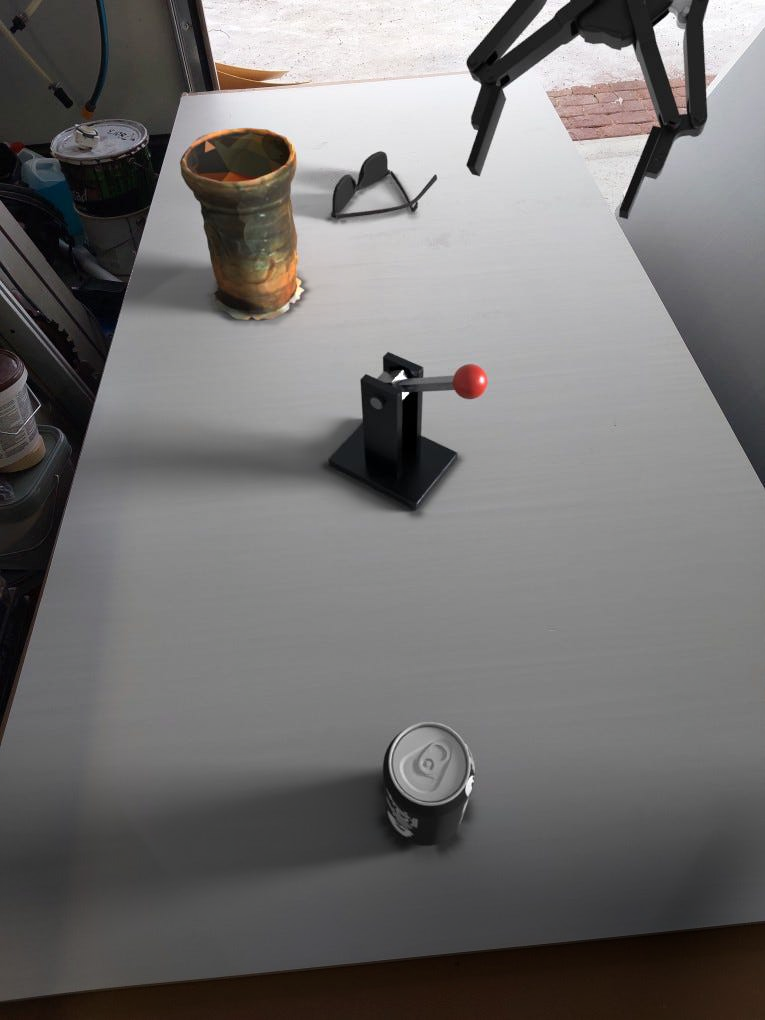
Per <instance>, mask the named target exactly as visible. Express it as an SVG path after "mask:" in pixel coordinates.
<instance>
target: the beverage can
mask: <svg viewBox="0 0 765 1020" xmlns="http://www.w3.org/2000/svg"><path fill="white" fill-rule="evenodd" d="M382 762H383V763H382V778H383V792H384V795H383V796H384V808H385V809H384V810H385V814H386V817H387V820H388V822H389V824H390V826H391V828H392V829H393V830H394V832H396V834H398V836H399V837H401V838H402V839H403V840H405V841H406V842H408V843H411V844H413V845H417V846H423V847H430V846H437V845H439V844H442V843H444V842H445V841H447V840H449V838H451V837H452V836H453V835H454V834H455V833H456V832H457V830H458V829H459V827H460V825H461V823H462V821H463V819H464V816H465V815H464V814H465V811H466V808H467V805H468V802H469V799H470V796H471V792H472V789H473V786H474V783H475V775H476V771H475V770H476V769H475V768H476V767H475V762H474V758H473V755H472V752H471V749H470V748H469V747H468V745H467V743H466V742H465V741H464V739H462V737H461V736H460V735H459V734H458V733H457V732H456V731H454V729H452V728H451V727H449V726H447V725H445V724H443V723H440V722H435V721H421V722H416V723H414V724H411V725H409V726H408V727H406V728H404V729H403V730H401V731H400V732H399V733H397V734H396V736H395V737H394V738H393V739H392V740H391V741H390V743H389V745H388V746H387V748H386V751H385V753H384V757H383V761H382Z"/></svg>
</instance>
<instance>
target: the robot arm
mask: <svg viewBox="0 0 765 1020" xmlns="http://www.w3.org/2000/svg"><path fill="white" fill-rule="evenodd" d="M547 2H548V0H514V2H513V3H512V4H511V5H510V7H509V8H508V9H507V10H506V11H505V12H504V13H503V14H502V16H501V18H500V19H498V21H497V22H496V23H495V24H494V25H493V27H492V28H491V29H490V31H488V32H487V34H486V35H485V36H484V38H483V39H482V40H481V41H480V42H479V43H478V45H476V47H475V48H474V50H473V51H472V52H471V53H470V54H469V55H468V57H467V59H466V61H465V62H466V67H467V69H468V71H469V74H470V77H471V78H472V80H473V81H474V82H478V83H479V84H480V89H479V91H478V95H477V97H476V101H475V102H474V103H475V104H474V107H473V110H472V113H471V115H470V124H471V126H472V128H473V130H475V131H477V132H476V135H475V138H474V141H473V144H472V147H471V150H470V153H469V156H468V158H467V161H466V164H465V166H466V167H467V169H468V171H469V172H470V174H471V175H473V176H477V177H481V174H482V172H483V168H484V165H485V162H486V159H487V157H488V154H489V150H490V148H491V145H492V142H493V139H494V136H495V133H496V130H497V128H498V125H499V122H500V119H501V117H502V113H503V110H504V108H505V104H506V101H507V98H506V95H505V93H504V89H505V88H506V87H508V86H509V85H511V84H512V83H513V82H514V81H516V80H517V79H518V78H520V77H521V76H522V75H524V74H525V73H527V72H528V71H529V70H531V69H532V68H533V67H534V66H536V65H537V64H539V63H540V62H541V61H542V60H544V59H545V58H547V57H548V56H549V55H551V54H552V53H553V52H554V51H556V50H557V49H559V48H560V47H562V46H564V45H568V44H570V43H571V42H572V41H574V39H576V38H577V37H579V36H580V37H581V38H582V39H583V40H584V43H587V44H591V45H599V44H601V45H605V46H607V47H609V48H610V49H612V50H617V51H622V48H623V49H624V48H627V47H629V46H632V48H633V52H634V55H635V58H636V60H637V62H638V64H639V67H640V69H641V72H642V73H641V74H642V76H643V79H644V81H645V85H646V89H647V92H648V95H649V97H650V101H651V103H652V107H653V109H654V113H655V115H656V119H657V123H658V125H659V126H657V125H652V127H651V129H650V132H649V134H648V137H647V139H646V142H645V144H644V147H643V149H642V152H641V154H640V156H639V159H638V162H637V164H636V167H635V169H634V172H633V174H632V177H631V179H630V183H629V184H628V186H627V190H626V192H625V194H624V197H623V199H622V202H621V205H620V207H619V211H618V217H619V218H621V219H623V220H624V219H625V220H629V217H630V216H631V215H630V214H631V212H632V209H633V207H634V205H635V203H636V200H637V197H638V195H639V193H640V190H641V188H642V185H643V182H644V180H645V178H648V179H649V178H650V179H654V180H657V179H658V178H659V177H660V175H661V174H662V172H663V170H664V167H665V165H666V162H667V159H668V158H669V155H670V152H671V150H672V147H673V145H674V143H676V141H677V140H678V139H679V138H681V137H689V136H690V137H692V138H696V137H700V135H702V133H703V131H704V130H705V126H706V124H707V121H708V100H707V77H706V57H705V38H704V37H705V35H704V21H705V17H706V14H707V11H708V10H707V9H708V7H709V2H710V0H569V1H568V2H567V3H566V4H564V5H563V6H561V8H559V9H558V10H557V11H556V12H555V14H554V16H553V17H552V18H551V19H549V20H548V21H547V22H546V23H544V24H543V25H541V26H540V27H539V28H538V29H536V30H535V31H534V32H533V33H531V34H530V35H529V36H528V37H526V38H525V39H524V40H522V41H521V42H519V43H518V44H517V45H516V46H514V47H513V48H512V49H511V50H510V51H509V49H510V48H511V47H512V45H513V44H514V43H515V42H516V41H517V40H518V38H520V36H521V35H522V34H523V33H524V32H525V30H526V29H527V28H528V27H529V25H531V24H532V23H533V21H534V20H535V18H536V17H537V16H538V15H539V14H540V13H541V11H542V10H543V8H544V7H545V6H546V4H547ZM669 14H673V15H674V16H675V21H676V22H675V23H676V26H677V28H678V29H680V30H684V32H683V38H682V52H683V54H682V55H683V71H684V72H683V73H684V91H685V111H686V113H680V111H679V108H678V105H677V102H676V98H675V96H674V92H673V90H672V86H671V82H670V80H669V77H668V74H667V70H666V68H665V64H664V61H663V59H662V55H661V51H660V49H659V46H658V42H657V37H656V32H655V30H654V27H656V26H657V25H658V24H659V23H661V21H663V20H664V19H665V18H666V17H667V16H668V15H669ZM507 51H508V52H507ZM506 52H507V53H506ZM505 53H506V54H505Z"/></svg>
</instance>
